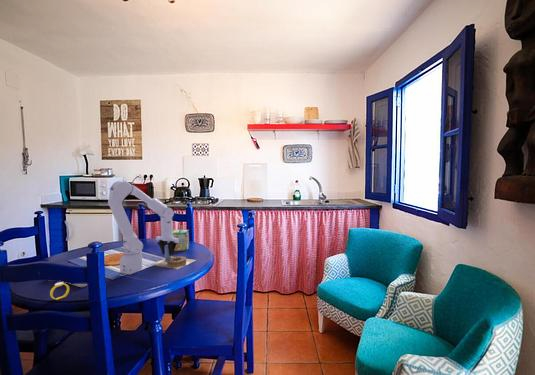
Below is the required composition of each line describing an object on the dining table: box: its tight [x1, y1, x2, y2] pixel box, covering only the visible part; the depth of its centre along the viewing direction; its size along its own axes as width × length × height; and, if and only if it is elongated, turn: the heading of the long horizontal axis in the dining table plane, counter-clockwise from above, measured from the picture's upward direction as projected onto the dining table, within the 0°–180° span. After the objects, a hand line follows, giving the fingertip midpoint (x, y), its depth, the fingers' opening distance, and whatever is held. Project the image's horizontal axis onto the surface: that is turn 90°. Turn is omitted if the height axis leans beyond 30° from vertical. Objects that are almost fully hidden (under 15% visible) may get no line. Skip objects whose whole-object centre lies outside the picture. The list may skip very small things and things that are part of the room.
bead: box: [167, 255, 187, 267], centre depth 138 cm, size 9×9×2 cm
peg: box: [164, 245, 172, 262], centre depth 143 cm, size 3×3×8 cm
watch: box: [49, 281, 70, 301], centre depth 104 cm, size 6×3×6 cm, turn 152°
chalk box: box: [173, 225, 190, 252], centre depth 166 cm, size 9×9×15 cm
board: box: [150, 255, 197, 270], centre depth 141 cm, size 14×18×1 cm
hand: (168, 254), depth 143 cm, fingers open, 4 cm apart
